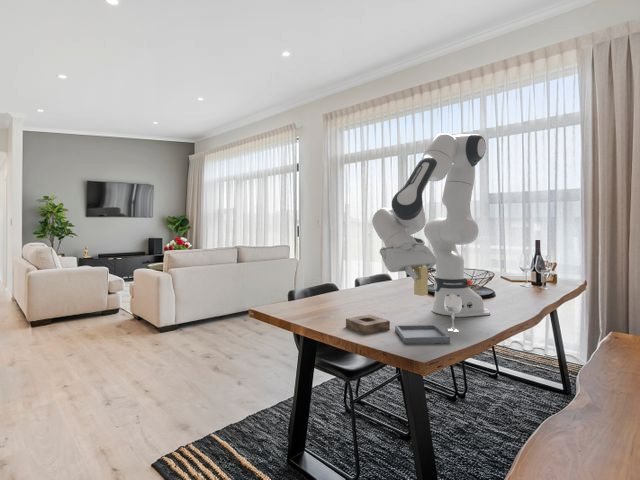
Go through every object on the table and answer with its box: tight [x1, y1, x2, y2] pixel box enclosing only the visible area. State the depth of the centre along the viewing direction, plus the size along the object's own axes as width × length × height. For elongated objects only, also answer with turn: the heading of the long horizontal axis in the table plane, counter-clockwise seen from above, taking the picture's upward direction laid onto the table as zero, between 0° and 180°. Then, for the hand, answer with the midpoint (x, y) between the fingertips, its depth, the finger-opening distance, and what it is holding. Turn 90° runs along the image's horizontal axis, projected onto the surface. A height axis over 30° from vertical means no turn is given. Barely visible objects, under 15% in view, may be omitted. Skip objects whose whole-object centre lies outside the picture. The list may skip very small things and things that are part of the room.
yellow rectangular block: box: [413, 266, 429, 297], centre depth 122 cm, size 3×3×9 cm
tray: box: [394, 324, 451, 345], centre depth 123 cm, size 14×14×2 cm
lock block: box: [345, 314, 391, 335], centre depth 134 cm, size 11×11×3 cm
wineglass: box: [444, 294, 462, 333], centre depth 130 cm, size 6×6×12 cm
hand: (422, 278), depth 122 cm, fingers closed on yellow rectangular block, 3 cm apart
